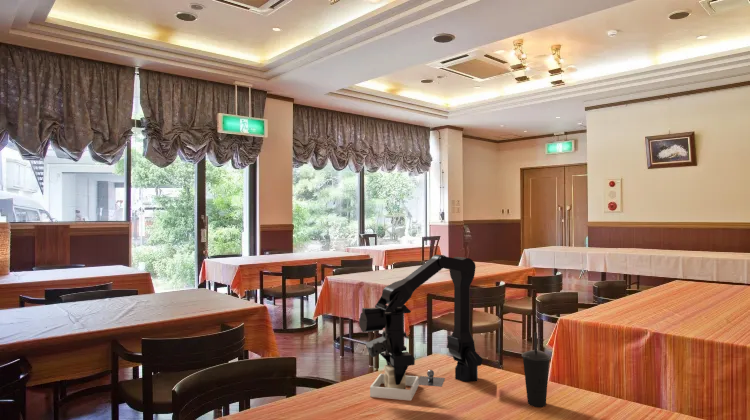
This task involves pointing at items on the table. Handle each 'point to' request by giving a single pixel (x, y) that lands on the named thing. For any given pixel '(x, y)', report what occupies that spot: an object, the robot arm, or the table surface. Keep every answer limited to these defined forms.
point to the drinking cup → (536, 375)
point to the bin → (394, 389)
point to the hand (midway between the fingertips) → (395, 381)
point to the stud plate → (431, 380)
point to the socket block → (393, 378)
